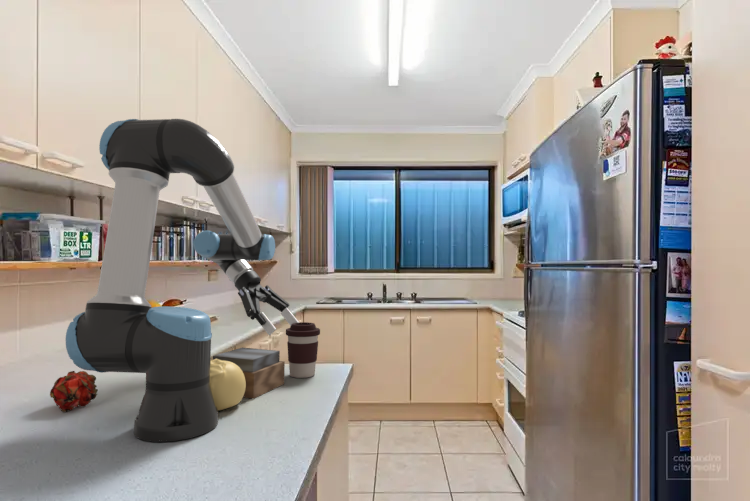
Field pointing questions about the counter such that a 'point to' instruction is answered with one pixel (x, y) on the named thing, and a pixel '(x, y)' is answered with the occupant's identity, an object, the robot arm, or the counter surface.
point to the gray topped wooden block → (257, 369)
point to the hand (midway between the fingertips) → (285, 329)
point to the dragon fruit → (74, 390)
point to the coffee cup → (302, 349)
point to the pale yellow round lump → (226, 383)
